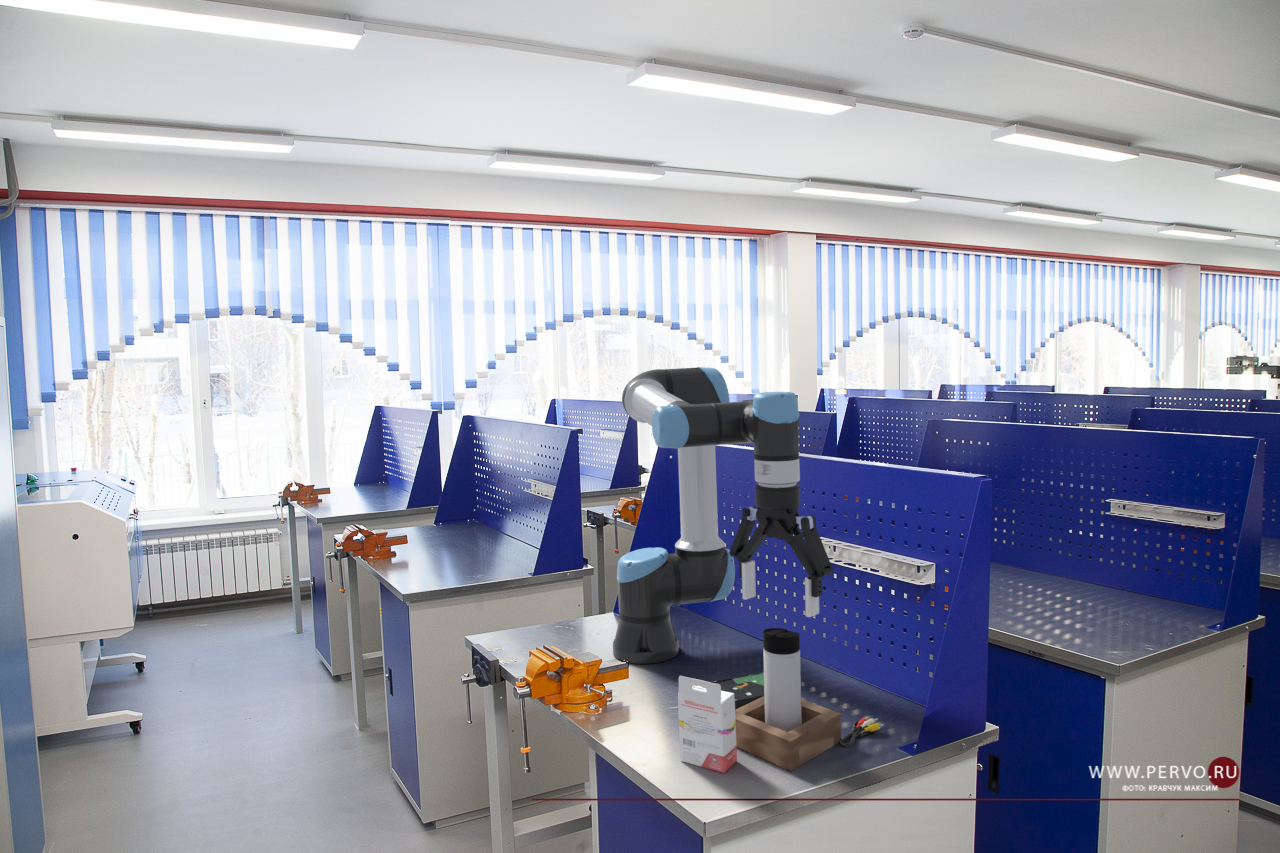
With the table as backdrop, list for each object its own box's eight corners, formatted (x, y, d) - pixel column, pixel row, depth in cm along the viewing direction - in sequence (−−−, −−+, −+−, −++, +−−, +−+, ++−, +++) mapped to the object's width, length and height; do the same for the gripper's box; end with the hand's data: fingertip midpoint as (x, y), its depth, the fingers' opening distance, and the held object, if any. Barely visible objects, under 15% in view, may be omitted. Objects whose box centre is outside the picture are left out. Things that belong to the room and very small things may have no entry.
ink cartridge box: (738, 760, 131) (736, 675, 130) (724, 774, 127) (721, 686, 126) (693, 748, 136) (690, 665, 135) (678, 761, 132) (675, 675, 130)
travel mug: (756, 741, 137) (753, 630, 135) (781, 729, 141) (778, 620, 140) (785, 754, 132) (782, 638, 131) (809, 741, 137) (807, 629, 135)
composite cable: (848, 751, 133) (847, 737, 133) (826, 740, 137) (826, 726, 137) (885, 733, 139) (885, 720, 139) (863, 723, 143) (863, 710, 143)
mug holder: (726, 742, 137) (725, 714, 137) (777, 715, 147) (776, 690, 146) (791, 771, 127) (790, 741, 127) (841, 741, 136) (840, 713, 136)
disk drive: (723, 717, 148) (792, 702, 153) (722, 703, 148) (792, 688, 153) (701, 696, 158) (767, 682, 163) (700, 682, 158) (766, 669, 163)
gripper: (707, 479, 140) (711, 595, 142) (826, 495, 121) (828, 628, 123) (736, 473, 145) (739, 586, 147) (853, 488, 126) (855, 616, 128)
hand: (779, 606), depth 135 cm, fingers open, 13 cm apart
